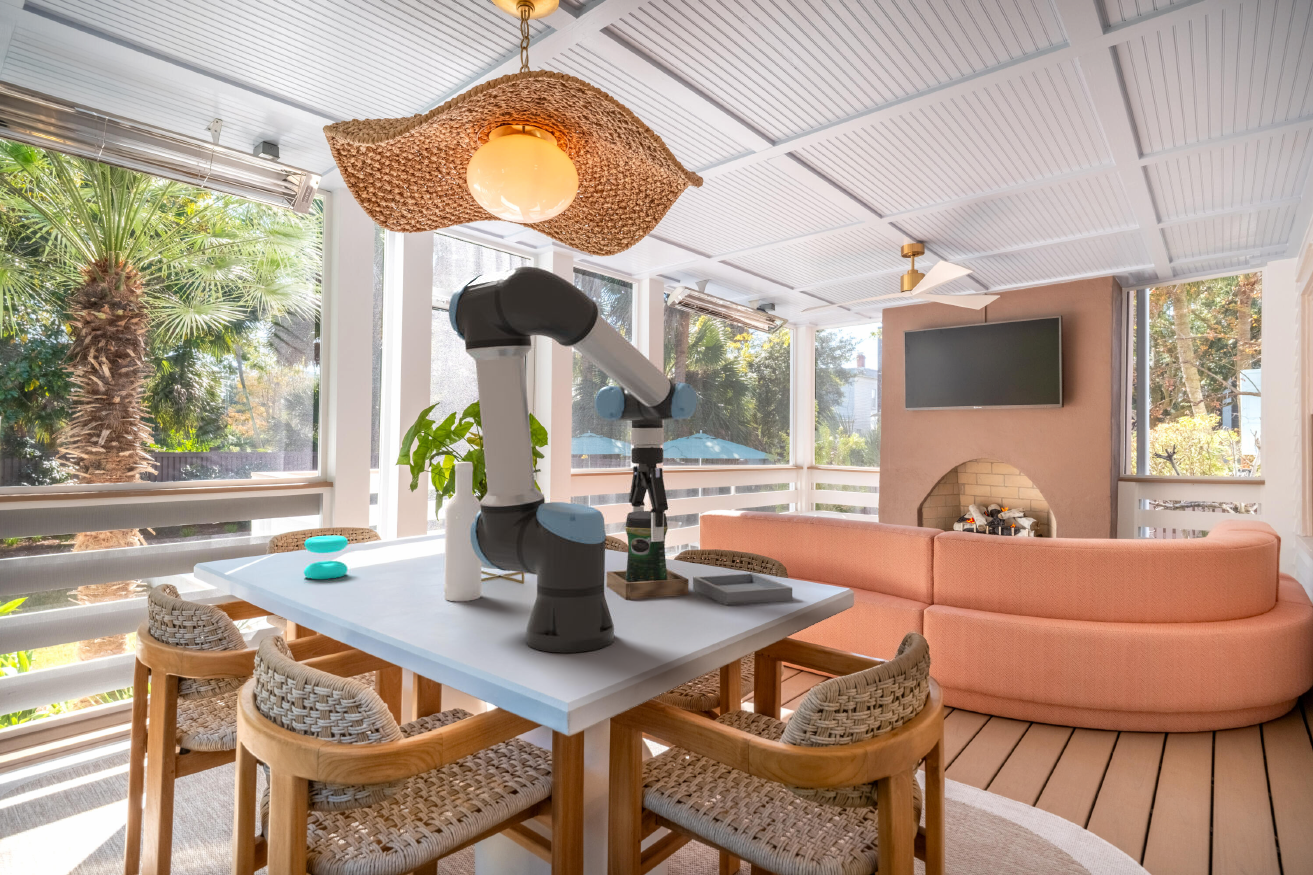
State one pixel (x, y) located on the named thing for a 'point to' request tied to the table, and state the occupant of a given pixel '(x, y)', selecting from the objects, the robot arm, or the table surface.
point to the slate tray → (742, 589)
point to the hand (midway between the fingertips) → (647, 537)
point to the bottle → (461, 540)
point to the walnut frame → (647, 586)
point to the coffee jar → (644, 549)
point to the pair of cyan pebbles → (325, 567)
